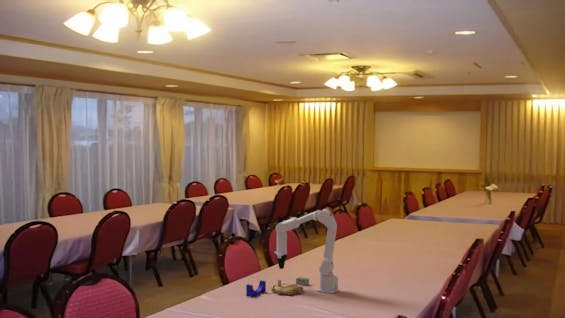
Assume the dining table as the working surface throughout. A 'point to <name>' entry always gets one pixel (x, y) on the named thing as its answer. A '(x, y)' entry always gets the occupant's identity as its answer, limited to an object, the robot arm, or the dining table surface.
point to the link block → (302, 281)
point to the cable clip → (258, 291)
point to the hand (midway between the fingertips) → (281, 268)
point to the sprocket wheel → (286, 288)
